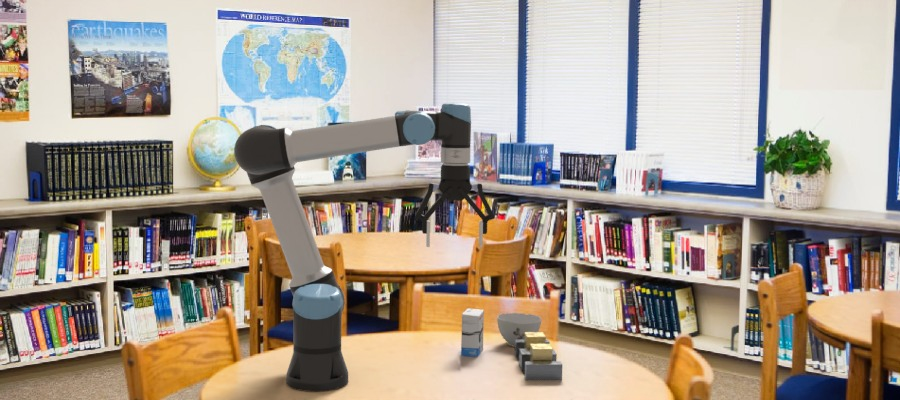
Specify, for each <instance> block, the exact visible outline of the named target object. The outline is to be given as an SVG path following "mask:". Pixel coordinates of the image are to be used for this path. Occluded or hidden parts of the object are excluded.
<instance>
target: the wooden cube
mask: <svg viewBox="0 0 900 400" xmlns="http://www.w3.org/2000/svg"><path fill="white" fill-rule="evenodd" d="M553 349H554V348H553V347H552V345H551V343H550V344H530V361H552V353H553Z"/></svg>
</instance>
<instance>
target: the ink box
mask: <svg viewBox="0 0 900 400" xmlns="http://www.w3.org/2000/svg"><path fill="white" fill-rule="evenodd" d="M461 314H462V315H461V341H460V342H461V348H460V349H461V350H460V356H462V357H474V358H476V357H477V358H478V357H479V356H480V355H481V353H483V351H484V323H485V322H484V321H485V320H484V319H485V315H484V314H485V309H478V308H466V309H465V311H463V312H462V313H461Z"/></svg>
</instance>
